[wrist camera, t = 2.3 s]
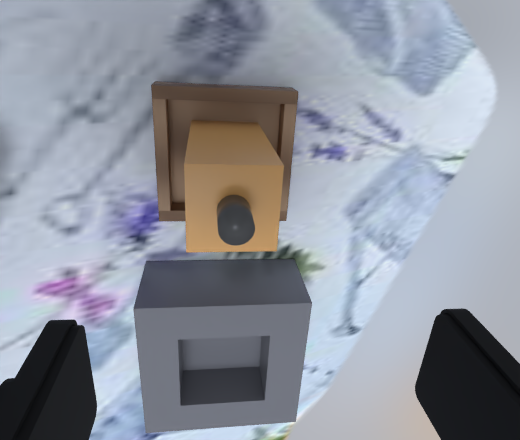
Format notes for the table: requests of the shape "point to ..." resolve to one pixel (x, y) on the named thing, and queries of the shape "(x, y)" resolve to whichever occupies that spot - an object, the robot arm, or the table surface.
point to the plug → (231, 188)
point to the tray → (215, 109)
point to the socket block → (220, 342)
